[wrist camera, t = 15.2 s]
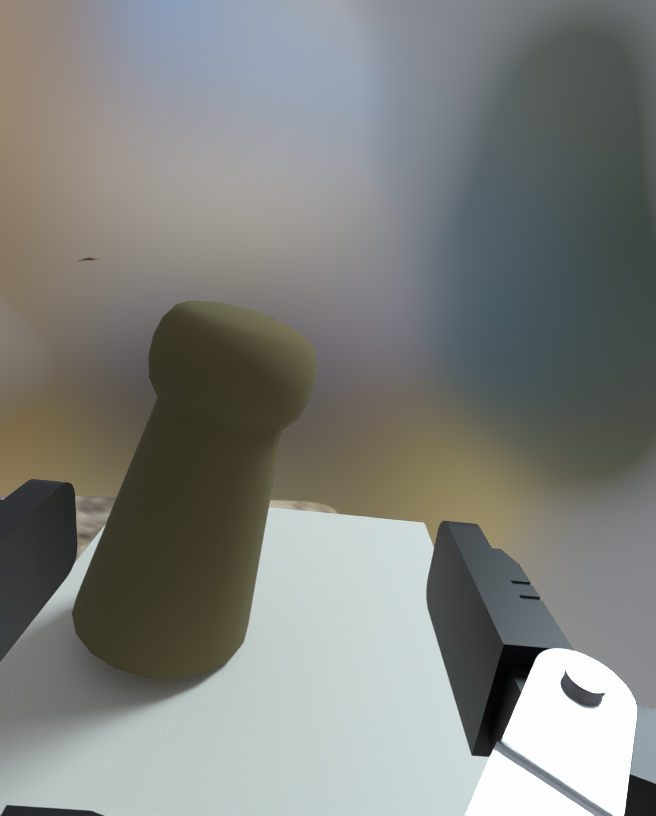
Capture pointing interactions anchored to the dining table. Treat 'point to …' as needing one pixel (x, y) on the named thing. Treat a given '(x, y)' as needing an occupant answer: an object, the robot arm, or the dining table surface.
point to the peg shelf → (255, 696)
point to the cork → (195, 493)
